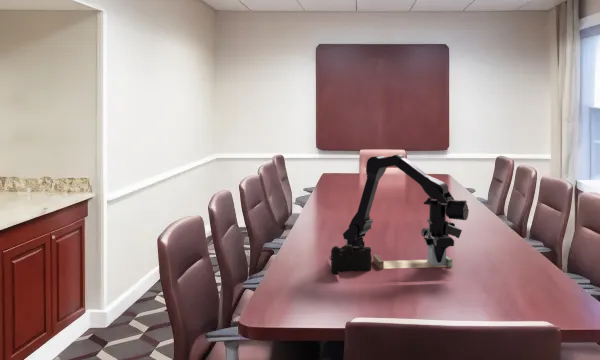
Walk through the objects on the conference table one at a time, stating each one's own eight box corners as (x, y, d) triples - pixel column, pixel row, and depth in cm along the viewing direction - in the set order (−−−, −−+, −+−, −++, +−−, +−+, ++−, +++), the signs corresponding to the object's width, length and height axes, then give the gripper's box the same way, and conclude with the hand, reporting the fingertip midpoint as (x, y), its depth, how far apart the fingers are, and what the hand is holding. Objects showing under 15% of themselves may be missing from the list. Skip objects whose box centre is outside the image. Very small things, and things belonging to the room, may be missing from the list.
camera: (367, 266, 201) (367, 238, 199) (372, 274, 190) (372, 245, 189) (328, 266, 200) (328, 239, 199) (331, 275, 189) (331, 246, 188)
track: (379, 271, 193) (379, 261, 193) (373, 263, 203) (373, 254, 203) (452, 269, 195) (452, 259, 195) (442, 261, 205) (442, 252, 205)
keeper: (431, 265, 197) (432, 246, 196) (427, 261, 202) (427, 242, 201) (445, 264, 197) (446, 245, 196) (440, 260, 203) (441, 242, 202)
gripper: (469, 222, 189) (468, 266, 191) (450, 212, 208) (449, 253, 210) (437, 222, 188) (436, 267, 190) (421, 213, 207) (420, 254, 209)
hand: (436, 260), depth 200 cm, fingers closed on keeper, 5 cm apart
